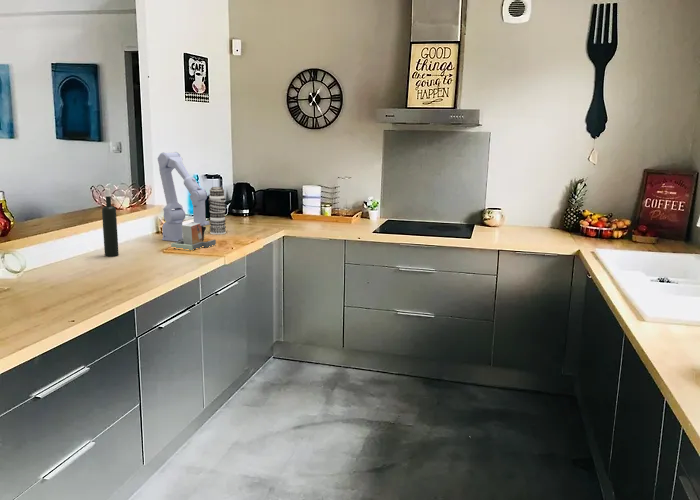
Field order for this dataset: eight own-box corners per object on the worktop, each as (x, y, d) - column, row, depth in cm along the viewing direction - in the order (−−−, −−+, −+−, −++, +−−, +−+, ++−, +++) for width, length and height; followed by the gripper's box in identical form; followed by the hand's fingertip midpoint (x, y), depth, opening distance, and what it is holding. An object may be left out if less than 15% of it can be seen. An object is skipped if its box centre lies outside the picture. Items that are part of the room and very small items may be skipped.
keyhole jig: (166, 248, 282) (166, 243, 281) (187, 241, 297) (187, 237, 297) (196, 251, 277) (196, 246, 276) (215, 244, 292) (215, 239, 292)
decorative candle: (222, 230, 329) (221, 186, 324) (229, 233, 322) (228, 187, 317) (206, 232, 324) (205, 186, 319) (212, 235, 317) (211, 188, 312)
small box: (192, 247, 285) (190, 226, 282) (183, 246, 287) (181, 225, 284) (203, 243, 292) (201, 222, 289) (194, 242, 294) (192, 221, 291)
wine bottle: (105, 257, 260) (101, 189, 254) (104, 254, 265) (99, 187, 259) (119, 256, 263) (115, 189, 257) (117, 253, 268) (113, 187, 262)
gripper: (198, 216, 283) (199, 244, 285) (214, 212, 296) (215, 239, 299) (185, 215, 285) (186, 243, 288) (202, 211, 298) (203, 238, 301)
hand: (200, 241), depth 293 cm, fingers closed, pressing on small box
